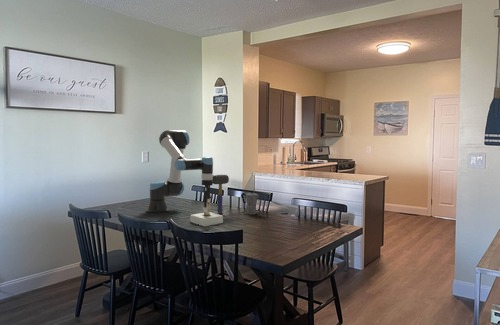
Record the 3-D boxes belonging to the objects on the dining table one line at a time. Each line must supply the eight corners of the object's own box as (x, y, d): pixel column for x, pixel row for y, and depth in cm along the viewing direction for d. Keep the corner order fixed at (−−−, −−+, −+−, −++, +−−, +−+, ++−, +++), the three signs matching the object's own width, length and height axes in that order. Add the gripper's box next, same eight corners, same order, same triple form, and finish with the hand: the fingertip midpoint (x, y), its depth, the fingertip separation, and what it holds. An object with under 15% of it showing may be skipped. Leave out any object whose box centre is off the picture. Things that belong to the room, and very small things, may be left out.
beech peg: (202, 222, 256) (202, 202, 255) (207, 221, 259) (207, 201, 258) (206, 223, 253) (206, 203, 252) (211, 222, 256) (211, 202, 255)
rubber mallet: (215, 214, 282) (216, 175, 280) (210, 213, 288) (211, 174, 285) (229, 212, 290) (229, 174, 287) (223, 211, 295) (224, 173, 293)
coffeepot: (261, 213, 291) (261, 190, 290) (256, 215, 283) (256, 192, 281) (243, 211, 298) (244, 188, 296) (238, 213, 289) (238, 190, 288)
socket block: (190, 221, 257) (190, 214, 256) (208, 218, 268) (209, 211, 267) (204, 226, 245) (204, 218, 245) (222, 222, 256) (223, 215, 256)
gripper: (210, 181, 242) (209, 213, 243) (214, 177, 266) (214, 206, 268) (198, 181, 242) (198, 213, 243) (204, 177, 267) (204, 206, 268)
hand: (206, 210), depth 256 cm, fingers open, 13 cm apart
